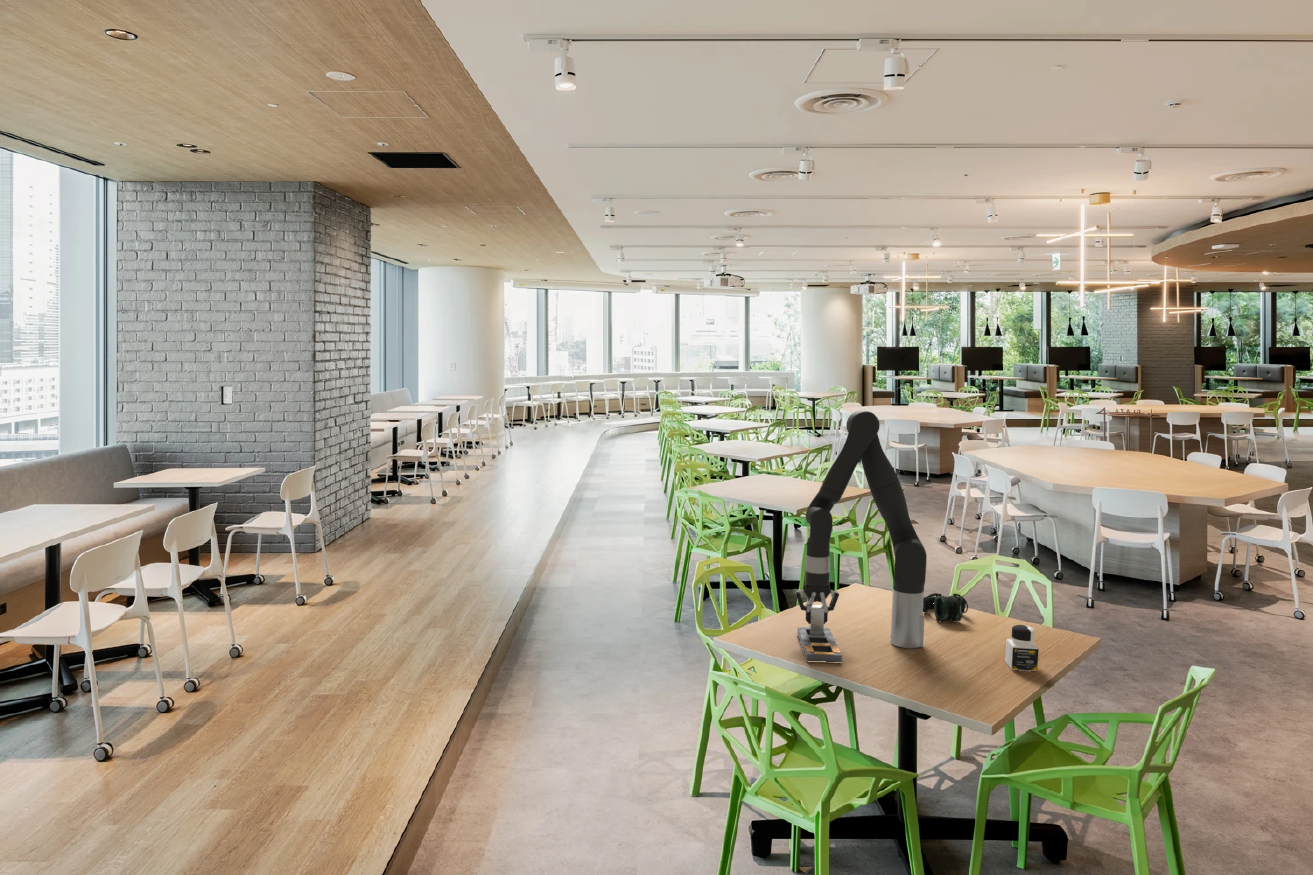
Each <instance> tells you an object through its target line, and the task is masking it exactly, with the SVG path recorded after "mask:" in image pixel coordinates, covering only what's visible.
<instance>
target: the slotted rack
mask: <svg viewBox="0 0 1313 875" xmlns="http://www.w3.org/2000/svg"><path fill="white" fill-rule="evenodd" d="M796 634H798V635H797V638H798V637H799V638H798V640H799V639H800V641H799V643H800V642H801V644H800V646H802V647H801V649H802V648H803V650H802V652H803V651H804V652H803V654H804V653H805V655H804V657H806V658H805V661H806V660H807V661H826V662H843V654H842V653H841V650H840V649H839V646H838V644H837V642H836V640H835V637H834V635H833V634H832V632H831V629H830V627H824V635H810V634H809V626H808V627H807V626H797V633H796ZM807 661H806V662H807Z"/></svg>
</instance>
